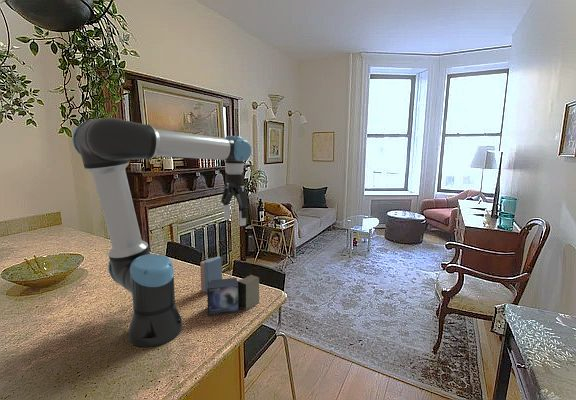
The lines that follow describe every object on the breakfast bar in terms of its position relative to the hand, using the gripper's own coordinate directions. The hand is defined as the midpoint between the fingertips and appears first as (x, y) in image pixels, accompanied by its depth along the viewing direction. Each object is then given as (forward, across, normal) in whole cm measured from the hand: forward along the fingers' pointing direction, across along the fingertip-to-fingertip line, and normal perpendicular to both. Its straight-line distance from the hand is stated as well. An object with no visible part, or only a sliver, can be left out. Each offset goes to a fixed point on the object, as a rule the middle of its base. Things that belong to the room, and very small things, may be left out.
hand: (234, 222), depth 128 cm
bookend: (+25, -24, +8) cm, 36 cm away
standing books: (+25, -5, +13) cm, 29 cm away
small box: (+26, -22, +17) cm, 38 cm away
